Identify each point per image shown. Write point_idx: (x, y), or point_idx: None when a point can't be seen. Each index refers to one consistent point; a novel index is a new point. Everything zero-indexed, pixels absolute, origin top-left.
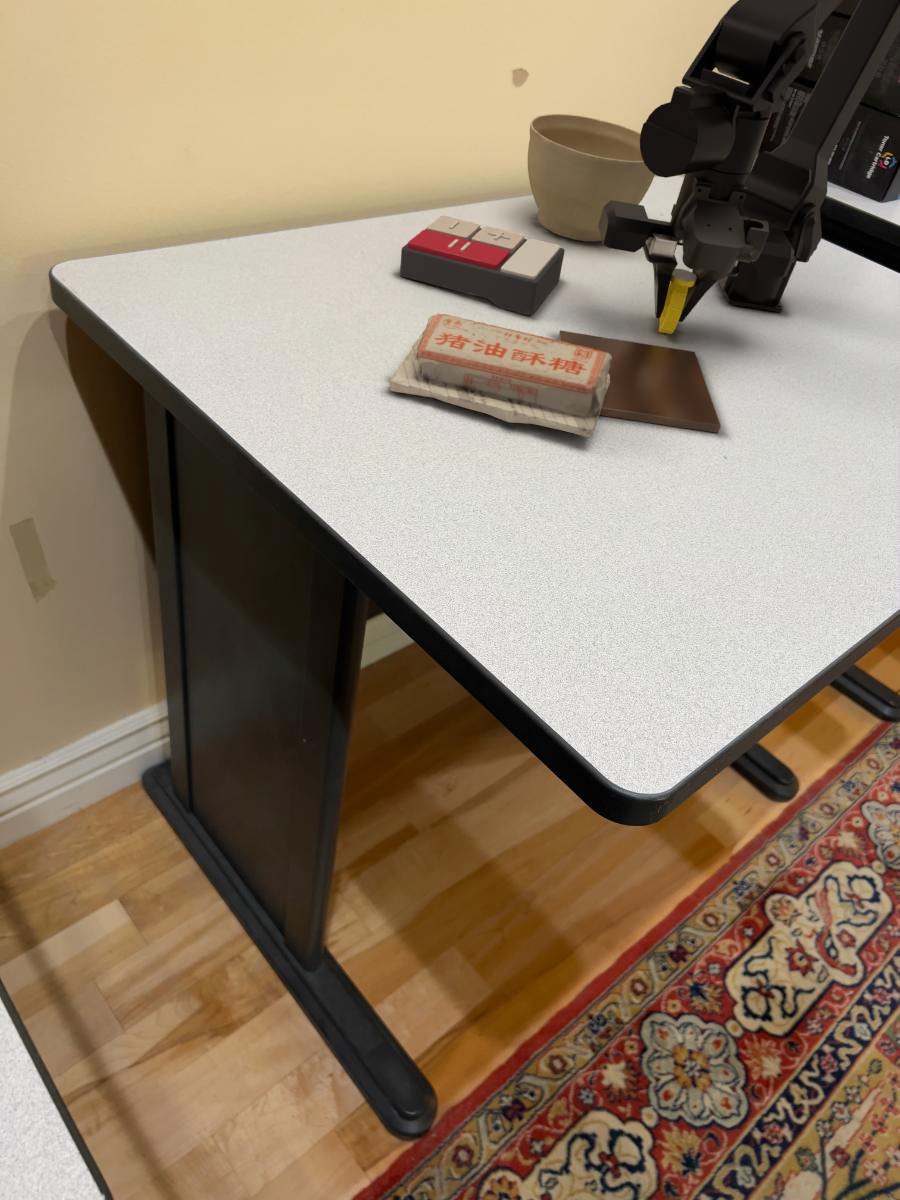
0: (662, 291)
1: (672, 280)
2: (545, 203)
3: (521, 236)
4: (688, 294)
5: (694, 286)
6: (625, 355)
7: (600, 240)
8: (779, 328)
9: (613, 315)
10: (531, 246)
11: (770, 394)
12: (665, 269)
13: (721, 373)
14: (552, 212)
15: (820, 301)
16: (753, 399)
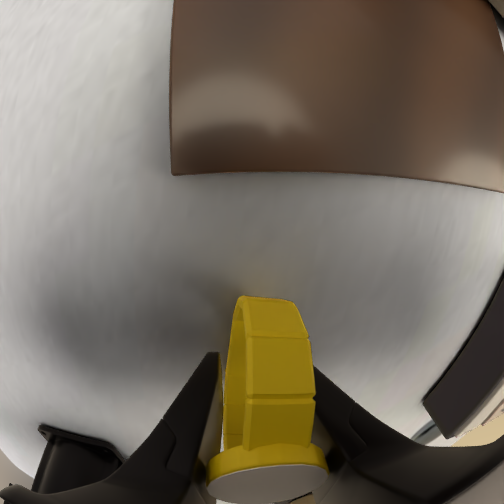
0: (336, 404)
1: (321, 452)
2: None
3: (489, 419)
4: (214, 430)
5: (205, 456)
6: (420, 83)
7: (308, 495)
8: (23, 388)
9: (372, 346)
10: (495, 405)
11: (6, 78)
12: (417, 463)
13: (93, 116)
14: None
15: (23, 440)
16: (49, 25)
